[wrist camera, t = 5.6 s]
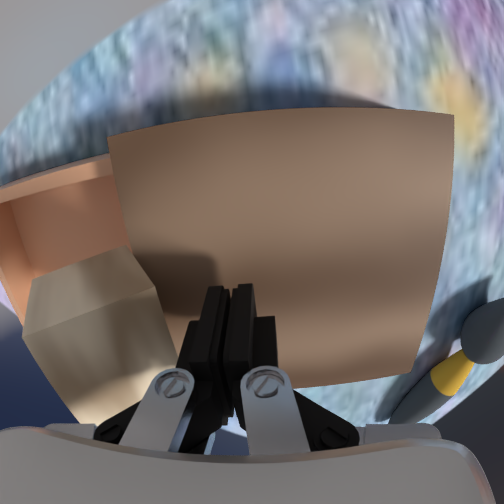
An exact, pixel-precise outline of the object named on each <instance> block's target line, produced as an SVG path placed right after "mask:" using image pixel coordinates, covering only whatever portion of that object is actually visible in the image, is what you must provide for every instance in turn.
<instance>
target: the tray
mask: <svg viewBox="0 0 504 504" xmlns="http://www.w3.org/2000/svg"><path fill="white" fill-rule="evenodd" d="M124 245H127V247H128V248H129V250H130V251H131V253H132V249H131V246H130V242H129V238H128V234H127V231H126V227H125V223H124V219H123V215H122V211H121V206H120V202H119V198H118V193H117V189H116V184H115V179H114V174H113V169H112V164H111V159H110V154H109V153H106V154H102V155H98V156H94V157H90V158H86V159H83V160H79V161H75V162H72V163H68V164H65V165H61V166H58V167H54V168H51V169H48V170H45V171H42V172H38V173H35V174H32V175H29V176H26V177H23V178H21V179H18V180H15V181H12V182H9V183H7V184H5V185H3V186H1V187H0V280H1V282H2V285H3V287H4V289H5V291H6V293H7V296H8V298H9V300H10V302H11V304H12V306H13V308H14V310H15V312H16V314H17V316H18V318H19V320H20V322H21V324H22V325H23V327H24V320H25V314H26V308H27V303H28V297H29V292H30V288H31V283H32V279H34V278H37V277H39V276H42V275H44V274H47V273H50V272H52V271H55V270H57V269H60V268H63V267H65V266H68V265H71V264H73V263H76V262H79V261H82V260H84V259H87V258H90V257H93V256H95V255H98V254H101V253H104V252H107V251H109V250H112V249H115V248H118V247H121V246H124ZM132 254H133V253H132Z"/></svg>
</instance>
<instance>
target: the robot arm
mask: <svg viewBox="0 0 504 504" xmlns="http://www.w3.org/2000/svg"><path fill="white" fill-rule="evenodd" d="M234 408H235V411H236V415H237V417H238V421H239V424H240V427H241V428H242V429H244V430H245V431H246V432H247V439H248V446H249V453H250V456H230V455H229V456H227V455H210V452H211V449H212V445H213V442H214V439H215V431H216V430H218V429H219V428H221V426H222V425H227V424H228V417H233V415H234ZM0 504H496V503H495V500H494V497H493V494H492V491H491V488H490V485H489V483H488V481H487V478H486V476H485V473H484V472H483V469H482V467H481V465H480V464H479V462H478V460H477V459H476V458H475V456H474V455H473V453H472V452H471V451H470V450H469V449H467V448H466V447H465V446H463V445H461V444H459V443H456V442H452V441H447V440H442V439H441V435H440V432H439V431H438V430H437V428H436V427H434V426H432V425H430V424H426V423H413V424H366V426H365V427H355V426H353V425H352V424H351V423H349V422H348V421H346V420H344V419H342V418H341V417H339V416H337V415H335V414H334V413H332V412H330V411H328V410H327V409H325V408H323V407H321V406H320V405H318V404H316V403H315V402H313V401H311V400H310V399H308V398H306V397H305V396H303V395H301V394H300V393H298V392H297V391H295V390H293V389H292V386H291V382H290V379H289V377H288V375H287V373H285V372H284V371H283V370H282V369H280V368H279V366H278V348H277V333H276V321H275V316H262V317H257V311H256V303H255V295H254V287H253V283H246V284H238V288H233V290H232V296H230V291H229V289H224V286H223V285H219V286H209V287H208V289H207V293H206V297H205V300H204V304H203V308H202V311H201V315H200V319H199V320H191V321H189V324H188V327H187V330H186V333H185V337H184V340H183V343H182V347H181V350H180V353H179V357H178V360H177V364H176V367H175V368H171V369H166V370H164V371H162V372H160V373H159V374H157V375H156V376H155V377H154V379H153V380H152V381H151V383H150V385H149V387H148V389H147V391H146V393H145V394H144V396H143V398H142V400H140V401H139V402H137V403H135V404H134V405H132V406H130V407H128V408H127V409H125V410H123V411H121V412H120V413H118V414H116V415H114V416H113V417H111V418H109V419H107V420H105V421H104V422H102V423H101V424H100V425H99V426H96V425H95V423H91V424H50V425H48V426H46V427H44V428H38V427H25V426H22V427H11V428H7V429H4V430H1V431H0Z"/></svg>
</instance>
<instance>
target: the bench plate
mask: <svg viewBox="0 0 504 504" xmlns="http://www.w3.org/2000/svg"><path fill="white" fill-rule="evenodd" d="M107 142H108V148H109V154H110V159H111V164H112V169H113V174H114V179H115V184H116V189H117V193H118V198H119V202H120V206H121V211H122V215H123V219H124V223H125V227H126V231H127V234H128V238H129V242H130V246H131V249H132V253H133V256H134V257H135V259H136V260H137V261H138V263H139V264H140V266H141V267H142V269H143V270H144V272H145V273H146V275H147V276H148V277H149V279H150V280H151V282H152V283H153V284H154V286H155V288H156V291H157V295H158V298H159V301H160V304H161V308H162V311H163V314H164V317H165V320H166V323H167V326H168V329H169V332H170V335H171V338H172V341H173V343H174V346H175V349H176V352H177V355H178V357H179V353H180V350H181V347H182V343H183V340H184V337H185V333H186V330H187V327H188V324H189V321H191V320H199V319H200V315H201V311H202V308H203V304H204V300H205V297H206V293H207V289H208V287H209V286H219V285H223V286H224V289H229V291H230V296H232V290H233V288H238V284H246V283H253V287H254V295H255V303H256V311H257V317H262V316H275V321H276V333H277V348H278V366H279V368H280V369H282V370H283V371H284V372H285V373H287V375H288V377H289V379H290V382H291V386H292V389H295V388H307V387H317V386H327V385H335V384H343V383H351V382H358V381H365V380H371V379H377V378H383V377H389V376H394V375H399V374H404V373H409V372H411V370H412V367H413V364H414V361H415V359H416V356H417V353H418V350H419V347H420V343H421V340H422V337H423V334H424V330H425V327H426V324H427V320H428V316H429V313H430V309H431V305H432V301H433V297H434V293H435V289H436V285H437V280H438V276H439V271H440V266H441V261H442V255H443V250H444V244H445V238H446V232H447V225H448V217H449V209H450V200H451V190H452V178H453V161H454V115H451V114H443V113H435V112H426V111H416V110H404V109H389V108H365V107H316V108H291V109H275V110H262V111H251V112H241V113H232V114H224V115H216V116H209V117H202V118H196V119H189V120H183V121H178V122H172V123H167V124H162V125H156V126H152V127H147V128H142V129H138V130H133V131H129V132H125V133H121V134H117V135H113V136H109V137H107Z"/></svg>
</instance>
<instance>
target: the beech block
mask: <svg viewBox="0 0 504 504" xmlns="http://www.w3.org/2000/svg"><path fill="white" fill-rule="evenodd" d="M22 338H23V340H24V342H25V343H26V345H27V347H28V349H29V350H30V352H31V354H32V355H33V357H34V359H35V360H36V362H37V363H38V365H39V367H40V368H41V370H42V371H43V373H44V374H45V376H46V377H47V379H48V380H49V382H50V383H51V385H52V386H53V388H54V389H55V390H56V392H57V393H58V394H59V396H60V398H61V399H62V400H63V402H64V403H65V404H66V406H67V407H68V408H69V410H70V411H71V412H72V413H73V415H74V416H75V417H76V418H77V420H78V421H79V422H80V424H91V423H95V425H96V426H99V425H100V424H101V423H102V422H104V421H105V420H107V419H109V418H111V417H113V416H114V415H116V414H118V413H120V412H121V411H123V410H125V409H127V408H128V407H130V406H132V405H134V404H135V403H137V402H139V401H140V400H142V398H143V396H144V394H145V393H146V391H147V389H148V387H149V385H150V383H151V381H152V380H153V379H154V377H155V376H156V375H157V374H159V373H160V372H162V371H164V370H166V369H171V368H175V367H176V364H177V360H178V355H177V352H176V349H175V346H174V343H173V341H172V338H171V335H170V332H169V329H168V326H167V323H166V320H165V317H164V314H163V311H162V308H161V304H160V301H159V298H158V295H157V291H156V288H155V286H154V284H153V283H152V282H151V280H150V279H149V277H148V276H147V275H146V273H145V272H144V270H143V269H142V267H141V266H140V264H139V263H138V261H137V260H136V259H135V257H134V256H133V254H132V253H131V251H130V250H129V248H128V247H127V245H124V246H121V247H118V248H115V249H112V250H109V251H107V252H104V253H101V254H98V255H95V256H93V257H90V258H87V259H84V260H82V261H79V262H76V263H73V264H71V265H68V266H65V267H63V268H60V269H57V270H55V271H52V272H50V273H47V274H44V275H42V276H39V277H37V278H34V279H32V283H31V288H30V292H29V297H28V303H27V308H26V314H25V320H24V327H23V334H22Z"/></svg>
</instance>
